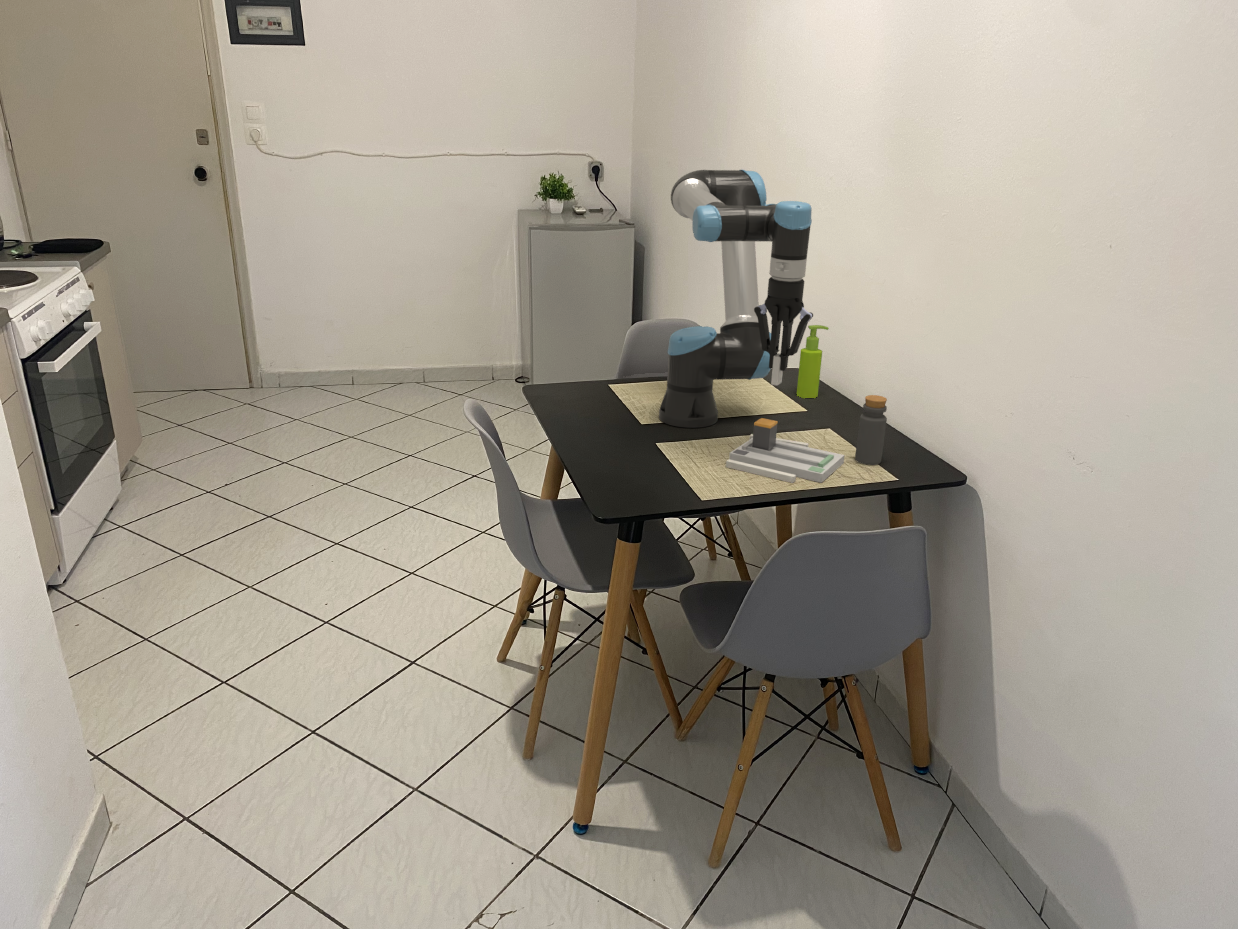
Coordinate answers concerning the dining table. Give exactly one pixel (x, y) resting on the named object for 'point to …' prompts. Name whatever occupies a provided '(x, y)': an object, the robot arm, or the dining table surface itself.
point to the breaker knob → (764, 434)
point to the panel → (790, 459)
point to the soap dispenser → (810, 365)
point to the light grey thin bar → (789, 441)
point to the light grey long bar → (761, 471)
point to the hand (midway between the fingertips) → (776, 383)
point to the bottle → (871, 431)
